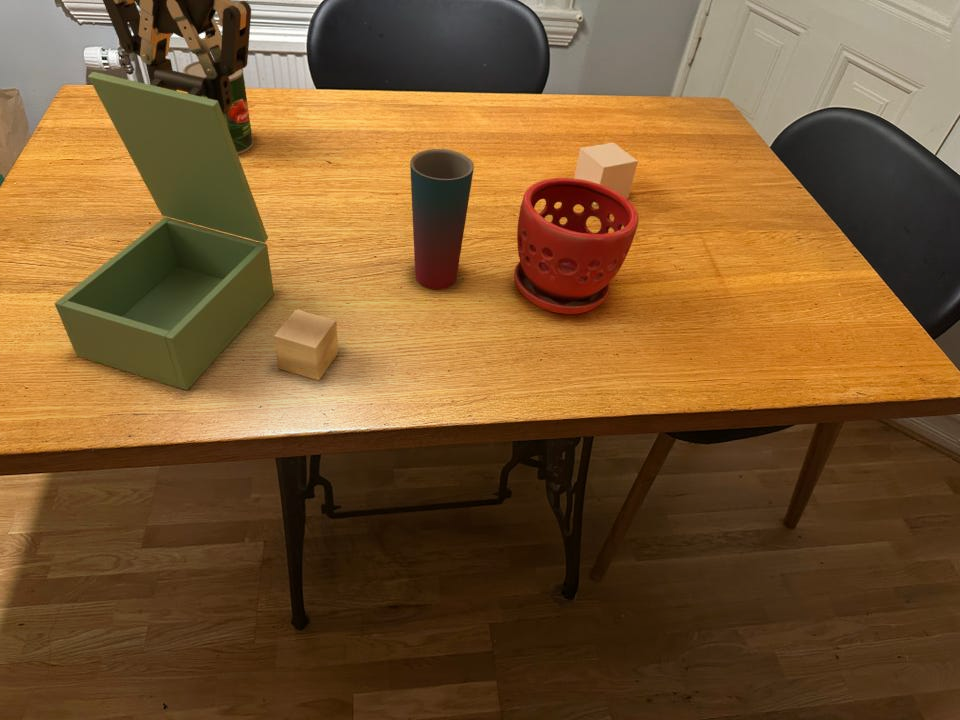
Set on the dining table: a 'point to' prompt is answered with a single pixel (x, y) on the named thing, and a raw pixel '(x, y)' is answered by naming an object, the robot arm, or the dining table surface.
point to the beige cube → (607, 167)
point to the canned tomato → (233, 108)
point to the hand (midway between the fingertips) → (194, 106)
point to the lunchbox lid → (182, 150)
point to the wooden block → (306, 344)
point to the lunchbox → (168, 302)
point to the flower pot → (571, 244)
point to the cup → (439, 214)
